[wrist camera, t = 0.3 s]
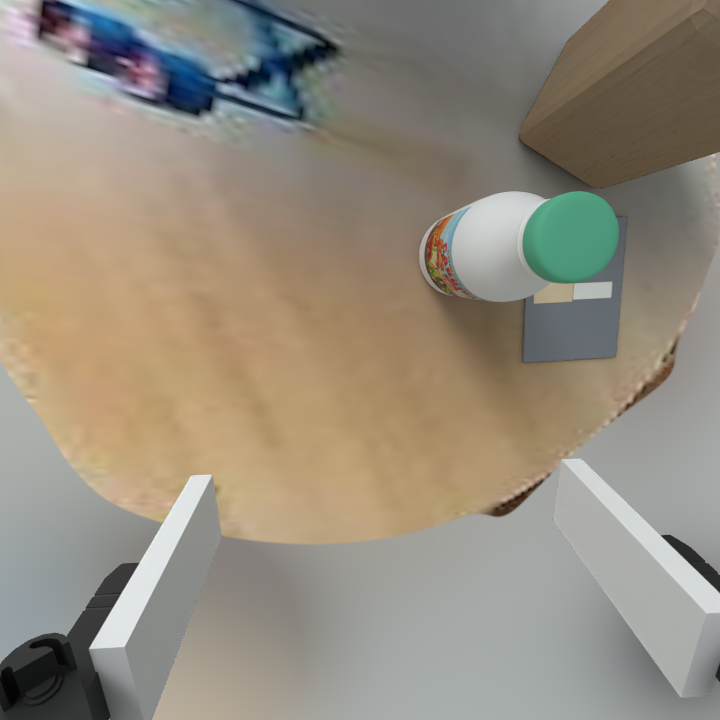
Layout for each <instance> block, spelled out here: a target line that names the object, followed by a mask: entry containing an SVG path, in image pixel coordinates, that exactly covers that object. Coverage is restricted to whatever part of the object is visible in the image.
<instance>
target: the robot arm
mask: <svg viewBox="0 0 720 720" xmlns="http://www.w3.org/2000/svg"><path fill="white" fill-rule="evenodd" d="M553 521H554V523H555V524H556V525H557V527H558V528H559V529H560V531H561V532H562V534H563V535H564V536H565V538H566V539H567V540H568V542H569V543H570V545H571V546H572V548H573V549H574V550H575V552H576V553H577V554H578V556H579V557H580V559H581V560H582V561H583V563H584V564H585V565H586V567H587V568H588V570H589V571H590V572H591V574H592V575H593V577H594V578H595V579H596V581H597V582H598V584H599V585H600V586H601V588H602V589H603V591H604V592H605V593H606V595H607V596H608V597H609V599H610V600H611V602H612V603H613V604H614V606H615V607H616V609H617V610H618V611H619V613H620V614H621V615H622V617H623V618H624V619H625V621H626V622H627V624H628V625H629V626H630V628H631V629H632V631H633V632H634V633H635V635H636V636H637V638H638V639H639V640H640V642H641V643H642V645H643V646H644V647H645V649H646V650H647V652H648V653H649V654H650V656H651V657H652V658H653V660H654V661H655V662H656V664H657V665H658V667H659V668H660V669H661V671H662V672H663V674H664V675H665V677H666V678H667V679H668V681H669V682H670V683H671V685H672V686H673V688H674V689H675V690H676V692H677V693H678V695H679V696H680V697H681V698H683V697H698V696H710V695H711V692H712V689H713V686H714V683H715V680H716V678H717V679H718V680H719V681H720V575H718V573H717V571H716V570H714V569H713V568H712V567H711V566H710V565H709V564H708V563H705V560H704V559H703V558H702V557H700V556H699V555H698V554H697V553H696V552H695V551H694V550H693V549H692V548H691V547H689V546H688V545H686V544H684V543H683V542H681V541H679V540H678V539H676V538H674V537H673V536H671V535H659V534H658V533H657V532H656V531H655V530H654V529H653V528H652V527H651V526H650V525H649V524H648V523H647V522H646V521H645V520H644V519H643V518H642V517H641V516H640V515H639V514H638V513H636V511H635V510H633V509H632V508H631V507H630V506H629V505H628V504H627V503H626V502H625V501H624V500H623V499H622V498H621V497H620V496H619V495H618V494H617V493H616V492H615V491H614V490H613V489H612V488H611V487H610V486H609V485H608V484H607V483H606V482H605V481H604V480H603V479H601V478H600V477H599V476H598V475H597V474H596V473H595V472H594V471H593V470H592V469H591V468H590V467H589V466H588V465H587V464H586V463H585V462H584V461H583V460H582V459H563V460H561V466H560V473H559V480H558V486H557V493H556V500H555V507H554V514H553ZM221 536H222V535H221V528H220V522H219V515H218V508H217V501H216V495H215V488H214V481H213V475H191V477H190V479H189V481H188V482H187V484H186V486H185V487H184V489H183V491H182V492H181V494H180V496H179V497H178V499H177V501H176V502H175V504H174V506H173V508H172V509H171V511H170V513H169V514H168V516H167V518H166V519H165V521H164V523H163V524H162V526H161V528H160V529H159V531H158V533H157V535H156V536H155V538H154V540H153V541H152V543H151V545H150V546H149V548H148V550H147V552H146V553H145V555H144V557H143V558H142V560H141V562H140V563H126V564H121V565H120V566H119V567H118V568H116V569H115V570H114V571H113V572H112V573H111V574H109V575H108V576H107V577H106V578H105V579H104V581H103V582H102V584H101V586H100V587H99V588H98V590H97V591H96V593H95V596H94V597H92V599H91V600H90V602H89V604H88V605H87V607H86V610H85V611H83V612H82V614H81V615H80V617H79V618H78V620H77V622H76V623H75V625H74V626H73V628H72V629H71V631H70V632H69V634H68V635H67V637H66V636H65V635H62V634H58V633H51V634H44V635H41V636H39V637H36V638H33V639H31V640H28V641H27V642H25V643H24V644H22V645H21V646H20V647H18V648H16V649H15V650H14V651H12V652H11V653H10V654H9V655H8V656H7V657H6V658H5V659H4V660H3V661H2V662H1V664H0V720H109V719H110V720H152V718H153V715H154V713H155V710H156V707H157V705H158V702H159V699H160V697H161V694H162V691H163V689H164V686H165V684H166V681H167V678H168V676H169V673H170V671H171V668H172V665H173V663H174V660H175V657H176V655H177V652H178V649H179V647H180V644H181V641H182V639H183V636H184V634H185V631H186V628H187V626H188V623H189V621H190V618H191V615H192V613H193V610H194V607H195V604H196V602H197V599H198V597H199V594H200V592H201V589H202V586H203V584H204V581H205V578H206V576H207V573H208V571H209V568H210V565H211V563H212V560H213V557H214V555H215V552H216V549H217V547H218V544H219V542H220V539H221Z"/></svg>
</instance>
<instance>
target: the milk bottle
mask: <svg viewBox="0 0 720 720" xmlns="http://www.w3.org/2000/svg"><path fill="white" fill-rule="evenodd" d="M618 239H619V226H618V221H617V218H616V215H615V213H614V211H613V209H612V208H611V206H610V205H609V204H608V203H607V202H606V201H605V200H604V199H603V198H601V197H599V196H598V195H595V194H593V193H589V192H583V191H574V192H569V193H565V194H561V195H558V196H556V197H553V198H550V199H547V200H546V199H544V198H543V197H540V196H538V195H535V194H532V193H528V192H520V191H510V192H502V193H497V194H494V195H491V196H488V197H485V198H483V199H480V200H478V201H476V202H474V203H471V204H469V205H467V206H465V207H463V208H460V209H458V210H456V211H454V212H452V213H450V214H448V215H446V216H444V217H442V218H441V219H439V220H438V221H436V222H435V223H434V224H433V225H432V226H431V227H430V228H429V229H428V230H427V232H426V234H425V235H424V237H423V239H422V242H421V245H420V250H419V263H420V268H421V271H422V273H423V275H424V277H425V279H426V280H427V282H428V283H429V284H430V285H431V286H432V287H433V288H434V289H436V290H437V291H439V292H441V293H444V294H447V295H450V296H456V297H462V298H468V299H475V300H482V301H492V302H509V301H516V300H520V299H523V298H526V297H529V296H531V295H534V294H536V293H537V292H539V291H541V290H542V289H544V288H545V287H546V286H548V285H549V284H550V283H562V284H569V283H578V282H582V281H585V280H587V279H590V278H592V277H594V276H595V275H597V274H598V273H600V272H601V271H602V270H603V269H604V268H605V267H606V266H607V265H608V263H609V262H610V260H611V259H612V257H613V255H614V253H615V251H616V248H617V244H618Z"/></svg>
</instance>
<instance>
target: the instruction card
mask: <svg viewBox="0 0 720 720" xmlns="http://www.w3.org/2000/svg"><path fill="white" fill-rule="evenodd" d="M616 218H617V221H618V226H619V239H618V244H617V248H616V251H615V253H614V255H613V257H612V259H611V260H610V262H609V263H608V265H607V266H606V267H605V268H604V269H603V270H602V271H601V272H600V273H598V274H597V275H595V276H594V277H592V278H590V279H587V280H585V281H582V282H578V283H569V284H562V283H550V284H549V285H548V286H546V287H545V288H544V289H542V290H541V291H539V292H537V293H536V294H534V295H531V296H529V297H526V298H525V300H524V329H523V358H522V362H523V363H527V362H543V361H559V360H575V359H591V358H606V357H616V350H617V338H618V325H619V313H620V300H621V288H622V276H623V263H624V251H625V238H626V226H627V217H616Z"/></svg>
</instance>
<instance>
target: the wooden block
mask: <svg viewBox="0 0 720 720" xmlns="http://www.w3.org/2000/svg"><path fill="white" fill-rule="evenodd" d="M519 138H520V140H521V141H522V142H523V143H524V144H526V145H527V146H529V147H530V148H532V149H533V150H535V151H537V152H538V153H540V154H541V155H543V156H544V157H546V158H547V159H549V160H551V161H552V162H554V163H555V164H557V165H558V166H560V167H561V168H563V169H565V170H566V171H568V172H569V173H571V174H572V175H574V176H575V177H577V178H579V179H580V180H582V181H583V182H585V183H586V184H588V185H589V186H591V187H593V188H600V189H602V188H605V187H608V186H612V185H615V184H618V183H621V182H624V181H628V180H631V179H634V178H637V177H640V176H644V175H647V174H650V173H653V172H656V171H660V170H663V169H666V168H669V167H673V166H676V165H679V164H682V163H685V162H689V161H692V160H695V159H698V158H701V157H705V156H708V155H711V154H714V153H717V152H720V0H610V1H608V2H607V3H606V4H605V5H604V6H603V7H602V8H601V9H600V10H599V11H598V12H597V13H596V14H595V15H594V16H593V17H592V18H591V19H590V20H589V21H588V22H587V23H586V24H584V25H583V26H582V27H581V28H580V29H579V30H578V31H577V32H576V33H575V34H574V35H573V36H572V37H571V38H570V39H569V40H568V41H567V43H566V45H565V47H564V49H563V51H562V52H561V54H560V56H559V58H558V60H557V62H556V64H555V65H554V67H553V69H552V71H551V73H550V75H549V77H548V78H547V80H546V82H545V84H544V86H543V88H542V90H541V91H540V93H539V95H538V97H537V99H536V101H535V102H534V104H533V106H532V108H531V110H530V112H529V114H528V115H527V117H526V119H525V121H524V123H523V125H522V127H521V131H520V135H519Z"/></svg>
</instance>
